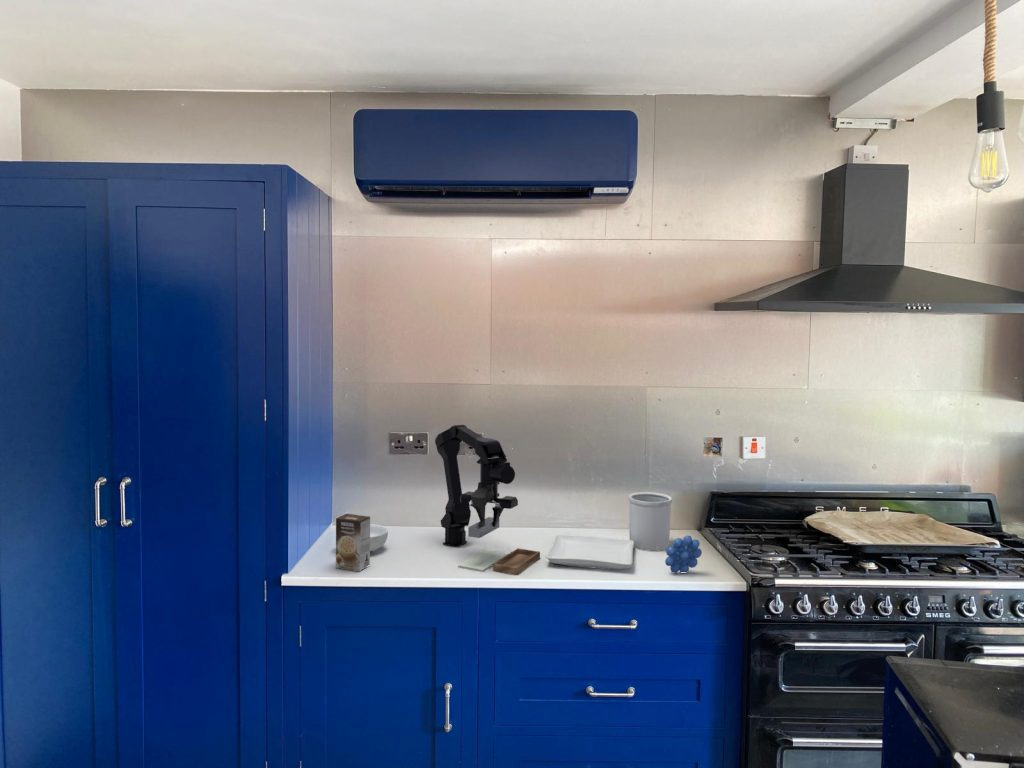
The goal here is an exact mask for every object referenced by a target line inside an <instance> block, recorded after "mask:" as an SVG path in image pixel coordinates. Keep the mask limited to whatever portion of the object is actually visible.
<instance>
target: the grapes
mask: <svg viewBox="0 0 1024 768" xmlns="http://www.w3.org/2000/svg"><path fill="white" fill-rule="evenodd" d="M672 545H673V546H671V545H669V547H668V548H667V549H665V550H666V556H667V557H666V558H665V560H664V564H665V565H666V566H667V567H670V571H671V573H672V572H676V573H678V572H680V573H681V572H687V571H688V572H689V570H690V568H695V567H697V565H698V563H699V562H698V561H699V560H698V559H699V558H700V557H701V556H702V549H701V548H699V547H700V540H699V539H693V537H692V536H691V535H685V536H684V537H683V538H678V537H677V538H675V539H674V540H673V542H672ZM688 572H687V573H688Z"/></svg>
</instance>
